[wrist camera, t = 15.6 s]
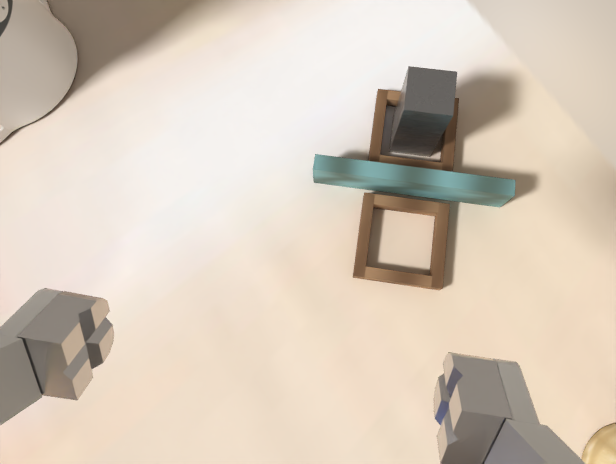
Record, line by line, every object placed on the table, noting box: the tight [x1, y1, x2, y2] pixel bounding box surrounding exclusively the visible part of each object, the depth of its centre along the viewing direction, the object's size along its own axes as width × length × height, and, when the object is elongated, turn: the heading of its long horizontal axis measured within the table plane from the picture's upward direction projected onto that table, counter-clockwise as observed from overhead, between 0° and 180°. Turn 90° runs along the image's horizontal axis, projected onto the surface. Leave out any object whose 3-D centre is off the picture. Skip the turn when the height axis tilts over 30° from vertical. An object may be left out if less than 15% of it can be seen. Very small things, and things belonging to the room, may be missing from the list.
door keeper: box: [313, 89, 515, 290], centre depth 43 cm, size 18×19×4 cm
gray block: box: [389, 66, 457, 157], centre depth 42 cm, size 4×4×8 cm
